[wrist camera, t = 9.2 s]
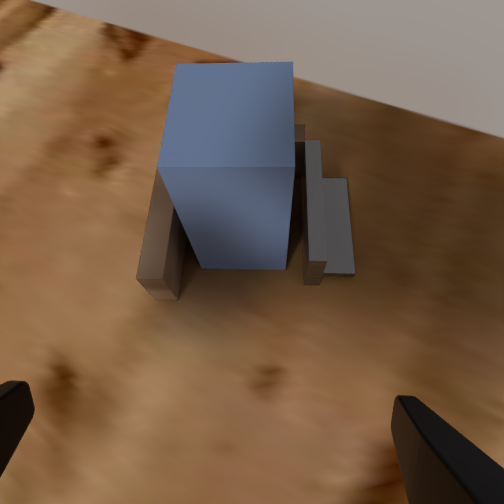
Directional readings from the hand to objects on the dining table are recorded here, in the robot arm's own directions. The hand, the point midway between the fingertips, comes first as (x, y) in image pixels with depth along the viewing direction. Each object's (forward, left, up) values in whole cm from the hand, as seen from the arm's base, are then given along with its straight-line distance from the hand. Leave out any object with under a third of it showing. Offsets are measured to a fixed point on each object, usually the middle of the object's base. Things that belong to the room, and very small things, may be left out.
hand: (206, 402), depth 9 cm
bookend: (+7, +8, -8) cm, 13 cm away
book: (+4, +9, -8) cm, 13 cm away
